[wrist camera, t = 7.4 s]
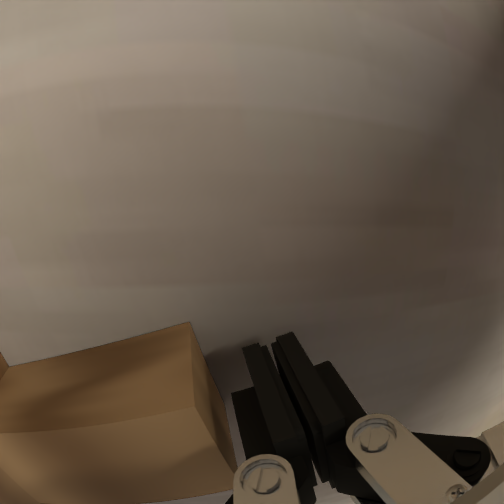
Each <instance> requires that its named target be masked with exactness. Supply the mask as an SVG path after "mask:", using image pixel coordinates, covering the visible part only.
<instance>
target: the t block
mask: <svg viewBox="0 0 504 504" xmlns="http://www.w3.org/2000/svg"><path fill="white" fill-rule="evenodd" d="M237 469H238V467H237V463H236V458H235V454H234V449H233V444H232V440H231V435H230V430H229V425H228V420H227V415H226V410H225V405H224V403H223V401H222V398H221V396H220V394H219V392H218V390H217V387H216V385H215V383H214V380H213V378H212V376H211V373H210V371H209V369H208V366H207V364H206V362H205V359H204V357H203V354H202V352H201V350H200V347H199V345H198V342H197V340H196V337H195V335H194V332H193V330H192V327H191V325H190V322H187V323H183V324H180V325H176V326H173V327H169V328H166V329H162V330H159V331H155V332H151V333H148V334H144V335H140V336H137V337H133V338H129V339H125V340H121V341H118V342H114V343H110V344H106V345H102V346H98V347H94V348H90V349H86V350H82V351H78V352H74V353H69V354H65V355H61V356H57V357H52V358H48V359H43V360H39V361H34V362H30V363H25V364H21V365H16V366H11V367H9V366H8V364H7V363H6V361H5V359H4V358H3V356H2V354H1V353H0V504H141V503H152V502H162V501H170V500H177V499H184V498H190V497H196V496H202V495H207V494H212V493H217V492H222V491H227V490H231V489H233V479H234V474H235V472H236V470H237Z"/></svg>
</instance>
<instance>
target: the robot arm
mask: <svg viewBox="0 0 504 504" xmlns="http://www.w3.org/2000/svg"><path fill="white" fill-rule="evenodd" d="M276 341H277V342H274V343H271V346H272V350H273V353H274V357H275V361H276V364H277V368H278V371H277V368H276V366H275V364H274V362H273V359H272V357H271V355H270V352H269V350H268V348H267V346H266V345H265V346H261V347H260V346H259V343H256V344H253V345H250V346H247V347H243V348H242V350H243V353H244V356H245V359H246V363H247V366H248V369H249V372H250V375H251V378H252V382H253V385H254V387H251V388H247V389H244V390H241V391H237V392H234V393H231V396H232V401H233V405H234V409H235V414H236V418H237V422H238V427H239V431H240V435H241V439H242V443H243V448H244V452H245V456H246V461H244V462H243V463H242V464H241V465H240V466H239V467H238V469H237V470H236V472H235V474H234V479H233V495H232V496H231V497H230V498H229V499H228V501H227V502H226V503H225V504H315V502H316V496H315V492H314V488H313V487H314V486H316V485H317V481H316V477H315V472H314V468H313V464H312V461H313V463H314V466H315V468H316V470H317V472H318V475H319V477H320V479H321V481H322V483H324V482H327V481H329V483H330V485H331V487H332V489H333V488H335V487H336V489H337V491H338V492H339V493H343V494H347V495H350V497H351V499H352V500H353V501H354V503H355V504H504V421H503V422H502V423H500V424H498V425H496V426H494V427H492V428H490V429H488V430H486V431H484V432H482V434H481V436H479V437H477V438H472V437H460V436H445V435H434V434H424V433H415V432H410V431H409V430H408V429H406V428H405V427H404V426H403V425H402V424H401V423H400V422H399V421H398V420H396V419H395V418H393V417H392V416H389V415H386V414H370V415H367V414H366V413H365V411H364V410H363V409H362V407H361V406H360V404H359V403H358V401H357V400H356V398H355V397H354V396H353V394H352V393H351V391H350V390H349V388H348V387H347V385H346V384H345V383H344V381H343V380H342V378H341V377H340V375H339V374H338V372H337V371H336V369H335V368H334V367H333V365H332V364H331V363H330V362H329V361H326V362H323V363H321V364H318V365H315V366H313V364H312V363H311V361H310V359H309V358H308V356H307V354H306V353H305V351H304V349H303V348H302V346H301V344H300V343H299V341H298V340H297V338H296V336H295V335H294V333H293V332H289V333H287V334H284V335H281V336H278V337H276ZM278 372H279V373H278ZM311 459H312V460H311Z"/></svg>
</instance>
